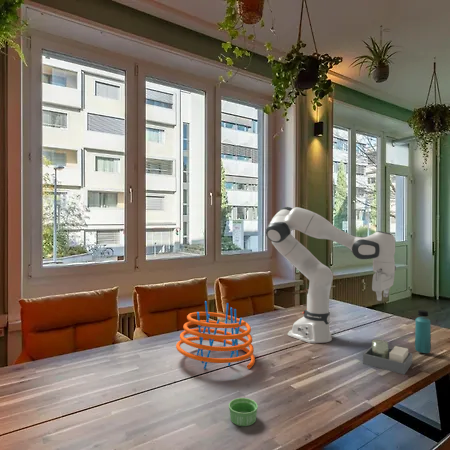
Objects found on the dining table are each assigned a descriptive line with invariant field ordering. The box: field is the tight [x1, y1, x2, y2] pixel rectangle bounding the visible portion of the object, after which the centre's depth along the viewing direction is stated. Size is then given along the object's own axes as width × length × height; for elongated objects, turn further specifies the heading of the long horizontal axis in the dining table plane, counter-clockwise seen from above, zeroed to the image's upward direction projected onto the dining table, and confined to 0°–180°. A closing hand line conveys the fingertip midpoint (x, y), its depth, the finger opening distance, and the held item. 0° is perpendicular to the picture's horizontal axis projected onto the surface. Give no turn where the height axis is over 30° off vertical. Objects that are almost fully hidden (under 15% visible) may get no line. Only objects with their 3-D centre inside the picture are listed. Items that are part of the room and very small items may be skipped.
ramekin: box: [228, 397, 259, 427], centre depth 108 cm, size 9×9×4 cm
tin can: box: [371, 338, 389, 359], centre depth 149 cm, size 6×6×8 cm
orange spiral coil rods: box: [175, 300, 256, 370], centre depth 152 cm, size 34×35×24 cm
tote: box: [362, 345, 413, 375], centre depth 148 cm, size 16×14×5 cm
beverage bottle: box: [414, 309, 432, 354], centre depth 161 cm, size 6×7×20 cm
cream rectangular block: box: [389, 345, 409, 363], centre depth 145 cm, size 5×10×6 cm, turn 141°
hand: (382, 298), depth 155 cm, fingers open, 8 cm apart
